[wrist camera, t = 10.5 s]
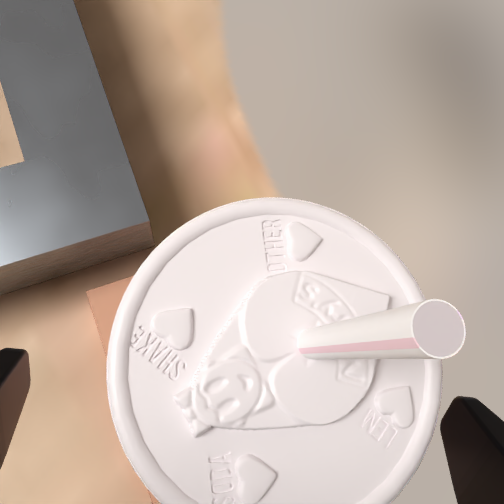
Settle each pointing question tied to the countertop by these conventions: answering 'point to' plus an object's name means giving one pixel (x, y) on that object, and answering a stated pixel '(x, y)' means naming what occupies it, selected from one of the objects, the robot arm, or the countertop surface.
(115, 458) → the countertop surface
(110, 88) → the countertop surface
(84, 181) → the socket block
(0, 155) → the countertop surface
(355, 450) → the smoothie
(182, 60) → the countertop surface
